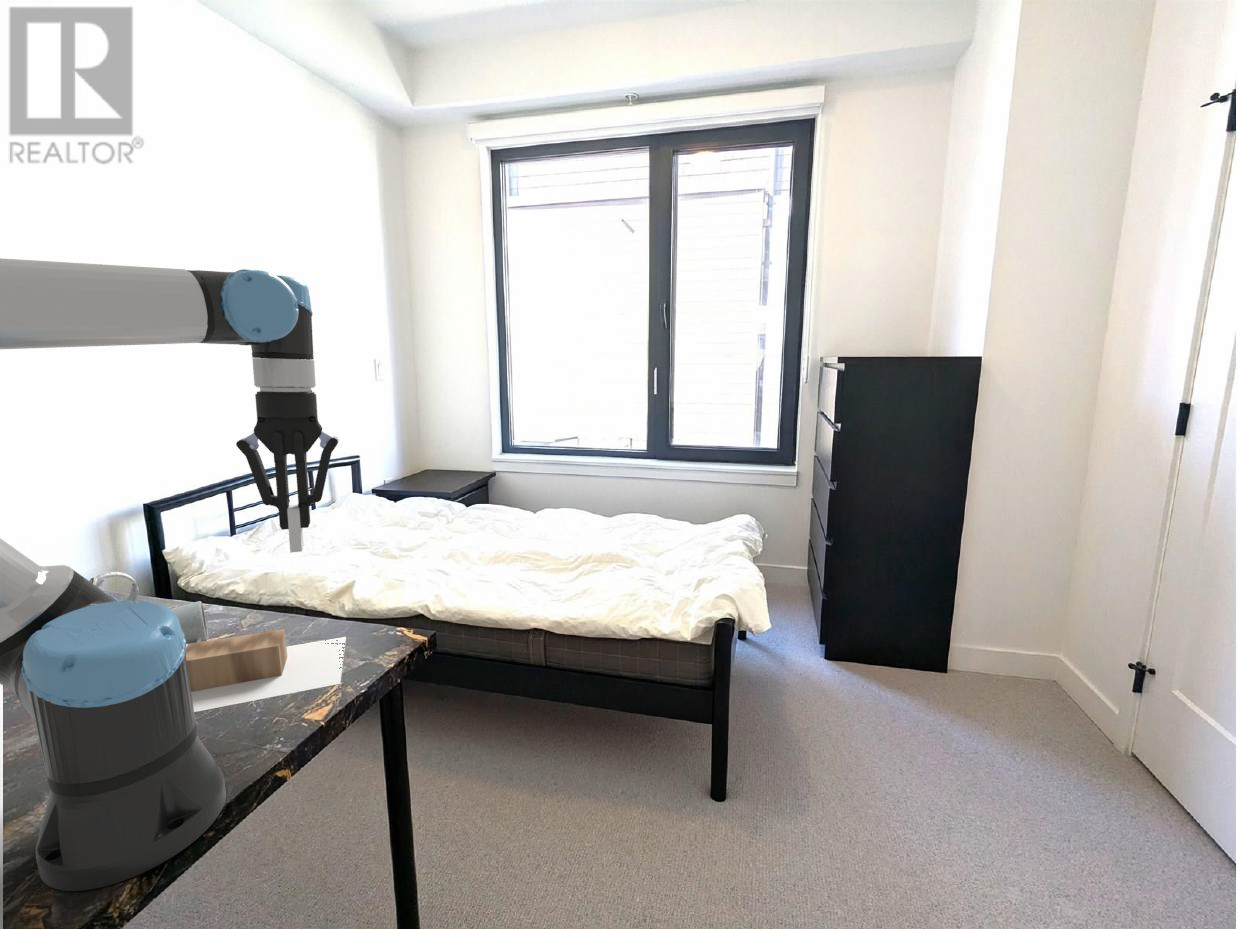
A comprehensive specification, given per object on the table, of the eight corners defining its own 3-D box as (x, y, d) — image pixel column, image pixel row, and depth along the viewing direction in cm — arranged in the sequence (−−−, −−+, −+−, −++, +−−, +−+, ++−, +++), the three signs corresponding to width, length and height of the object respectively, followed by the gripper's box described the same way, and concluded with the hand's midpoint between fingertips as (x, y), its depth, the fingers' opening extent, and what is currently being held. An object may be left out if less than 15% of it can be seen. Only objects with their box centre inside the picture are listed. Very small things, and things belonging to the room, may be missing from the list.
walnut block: (278, 645, 87) (167, 664, 82) (281, 675, 88) (172, 695, 83) (284, 629, 92) (180, 645, 87) (287, 657, 93) (184, 674, 88)
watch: (84, 634, 102) (73, 576, 100) (141, 619, 107) (132, 564, 105) (87, 644, 98) (76, 585, 96) (146, 629, 104) (137, 572, 102)
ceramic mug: (150, 647, 97) (143, 606, 95) (208, 634, 102) (202, 594, 100) (147, 676, 89) (139, 631, 87) (210, 659, 94) (204, 616, 92)
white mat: (340, 686, 86) (340, 683, 86) (163, 720, 77) (162, 718, 77) (346, 638, 100) (346, 636, 100) (197, 663, 92) (196, 661, 92)
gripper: (338, 389, 86) (346, 538, 90) (237, 388, 81) (250, 546, 85) (335, 391, 79) (344, 552, 83) (225, 390, 74) (240, 562, 78)
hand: (297, 549), depth 84 cm, fingers closed
